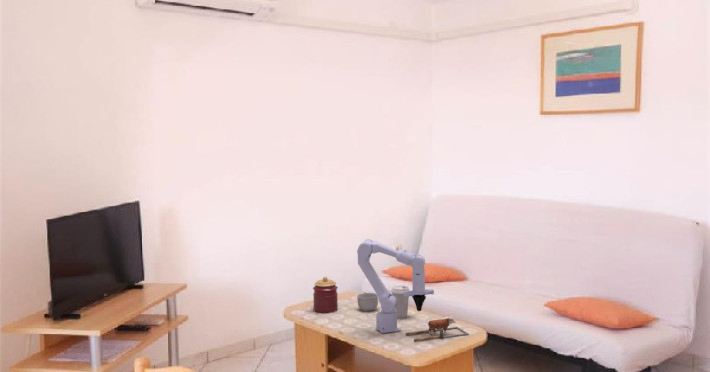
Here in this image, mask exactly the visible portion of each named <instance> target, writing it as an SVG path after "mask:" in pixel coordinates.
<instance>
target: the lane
mask: <svg viewBox="0 0 710 372" xmlns="http://www.w3.org/2000/svg"><path fill="white" fill-rule="evenodd" d="M442 330H443V329H442ZM448 330H449V331H450V330H458V331H460V332H461V333H459V334H451V335H445V336H444V335H443V339H449V338H456V337H463V336H469V335H470V333H468V332H467V331H465V330H464V329H462V328H460V327H459V326H454V327H452V326H451V327H448V328H447V329H446V331H448ZM443 331H444V330H443ZM436 332H440V329H439V330H437V329H436Z"/></svg>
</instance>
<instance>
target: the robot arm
mask: <svg viewBox="0 0 710 372" xmlns="http://www.w3.org/2000/svg"><path fill="white" fill-rule="evenodd" d="M356 252H357V265H358V266H359V268H360V269H361V271H362V272H363V274H364V276H365V278H366V279H367V280H368V283H369V284H370V285H371V286H372V288H373V290H374V293H376V294H377V295H378V303H380V308H381V311H378V312H377V313H376V315H375V316H376V317H375V319H376V320H375V321H376V326H375V329H376V330H377V331H379V332H380V333H381V334H384V333H385V334H386V333H395V332H401V329H400V328H399V327H398V318H397V309H396V308H395V306H396V305H397V299H396V297H395V296H393V295H392V292H391V290H388V289H387V288H386V286H385V284H384V283H383V282H382V279H381V278H380V276H379V275H378V273H377V271H376V270H375V268H374V266H373V265H372V264H371V261H370V259H371V257H372V254H377V253H378V254H379V253H381V254H384V255H387V256H390V257H392V258H393V257H394V258H395V259H396V261H397V262H399V263H402V264H405V265H406V266H409V267H411V268H412V275H411V277H412V290H410V291H408V292H404V297H409V298H410V297H412V299H413V301H414V303H415V308H416V311H417V312H422V308H423V306H424V303H425V300H426V298H427V295H435V291H434V289H426V273H425V270H426V269H425V264H426V259H425V257H424V256H423V255H421V254H417V253H412V252H409V251H408V250H407V249H400V250H397V249H394V248H392V247H390V246H388V245H385V244H383V243H381V242H378V241H377V240H372V239H369V238H367V239H365V240H364V241H363V242H361V243H360V244H359V245H358V247H357V250H356Z"/></svg>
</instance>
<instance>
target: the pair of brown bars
mask: <svg viewBox="0 0 710 372" xmlns="http://www.w3.org/2000/svg"><path fill="white" fill-rule="evenodd" d="M428 330H429V329H426V330H425V329H424V330H419V331H410V332H405V336H414V335H422V334H429V331H428ZM443 336H444V330H442V329H440V331H439V335H438V336H435V335H434V336H428V337H427V336H426V337H420V338H414V339H413V342H414V343H418V342H425V341H431V340H444V338H443Z"/></svg>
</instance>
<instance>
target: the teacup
mask: <svg viewBox="0 0 710 372" xmlns="http://www.w3.org/2000/svg"><path fill="white" fill-rule="evenodd" d="M356 298H357V305H358V308H359V310H362V311H363V312H373V311H374V310H375V309H376V308H377V307H378V304H379V299H378V295H377V293H376V292H363V293H359V294H358V295H357V296H356Z"/></svg>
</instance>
